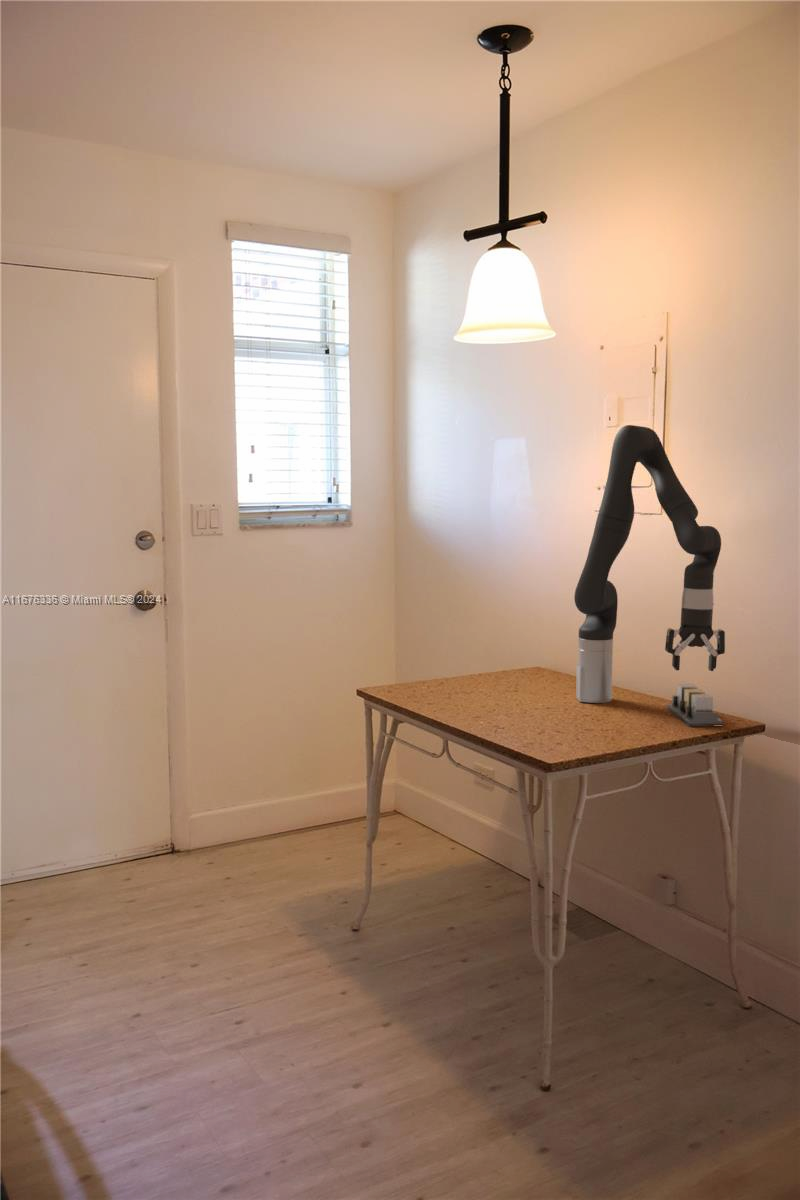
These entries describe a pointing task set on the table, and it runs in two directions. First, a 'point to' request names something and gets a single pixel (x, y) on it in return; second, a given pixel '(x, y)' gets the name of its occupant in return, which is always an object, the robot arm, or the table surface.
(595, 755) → the table surface
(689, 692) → the tan rectangular block
